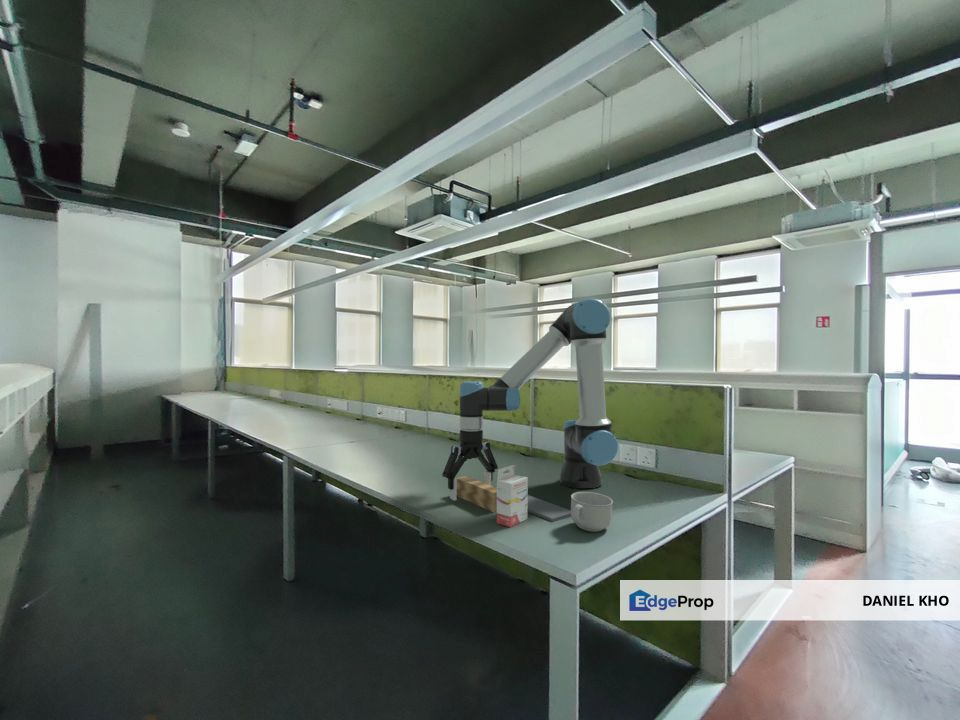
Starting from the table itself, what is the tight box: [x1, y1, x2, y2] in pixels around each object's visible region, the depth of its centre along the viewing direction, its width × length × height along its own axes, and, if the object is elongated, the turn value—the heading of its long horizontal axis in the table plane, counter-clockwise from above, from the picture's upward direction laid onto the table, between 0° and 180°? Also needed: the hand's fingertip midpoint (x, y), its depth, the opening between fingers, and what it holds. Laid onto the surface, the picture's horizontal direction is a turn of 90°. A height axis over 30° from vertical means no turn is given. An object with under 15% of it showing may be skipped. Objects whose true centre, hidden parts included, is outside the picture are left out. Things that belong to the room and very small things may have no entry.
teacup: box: [570, 491, 614, 533], centre depth 110 cm, size 14×11×8 cm
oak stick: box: [455, 475, 497, 513], centre depth 132 cm, size 20×4×6 cm, turn 37°
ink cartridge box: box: [496, 464, 529, 528], centre depth 116 cm, size 9×5×15 cm, turn 141°
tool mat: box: [527, 494, 571, 522], centre depth 127 cm, size 9×22×1 cm, turn 36°
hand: (470, 495), depth 135 cm, fingers open, 13 cm apart
